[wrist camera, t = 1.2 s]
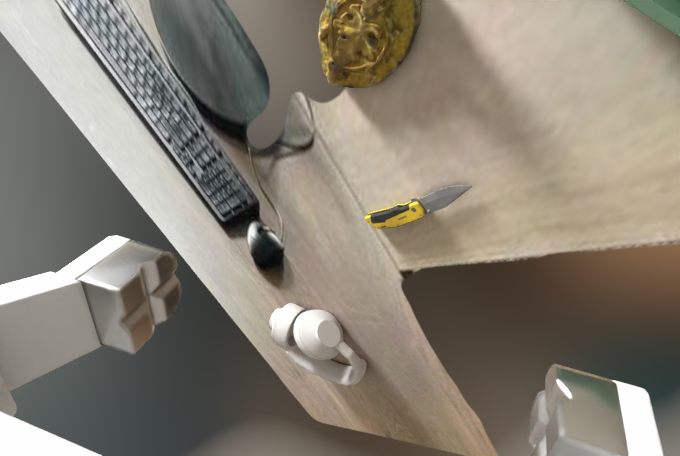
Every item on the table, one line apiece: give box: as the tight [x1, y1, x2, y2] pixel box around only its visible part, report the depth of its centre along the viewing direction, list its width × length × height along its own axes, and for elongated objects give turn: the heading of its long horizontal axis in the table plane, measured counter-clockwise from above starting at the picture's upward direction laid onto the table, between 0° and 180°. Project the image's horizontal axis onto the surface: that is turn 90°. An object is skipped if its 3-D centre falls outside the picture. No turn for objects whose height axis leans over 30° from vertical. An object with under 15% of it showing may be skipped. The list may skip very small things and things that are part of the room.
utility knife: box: [365, 185, 472, 229], centre depth 55 cm, size 16×1×3 cm
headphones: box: [269, 303, 367, 386], centre depth 87 cm, size 18×8×20 cm
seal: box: [318, 0, 420, 88], centre depth 44 cm, size 9×5×15 cm
